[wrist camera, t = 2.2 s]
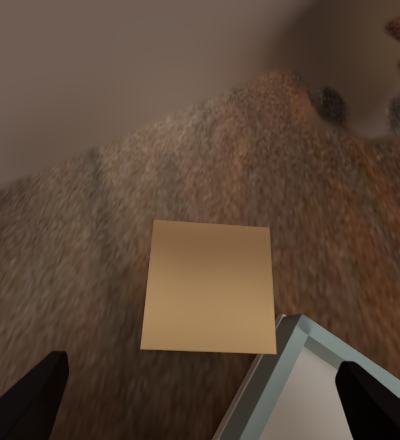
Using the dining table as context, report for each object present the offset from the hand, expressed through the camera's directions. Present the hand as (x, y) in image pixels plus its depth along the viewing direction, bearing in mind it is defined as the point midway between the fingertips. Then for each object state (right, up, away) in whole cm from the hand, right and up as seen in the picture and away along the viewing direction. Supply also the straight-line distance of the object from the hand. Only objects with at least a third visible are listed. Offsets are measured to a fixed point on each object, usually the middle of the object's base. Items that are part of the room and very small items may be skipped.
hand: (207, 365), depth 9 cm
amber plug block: (-1, -1, +10) cm, 10 cm away
